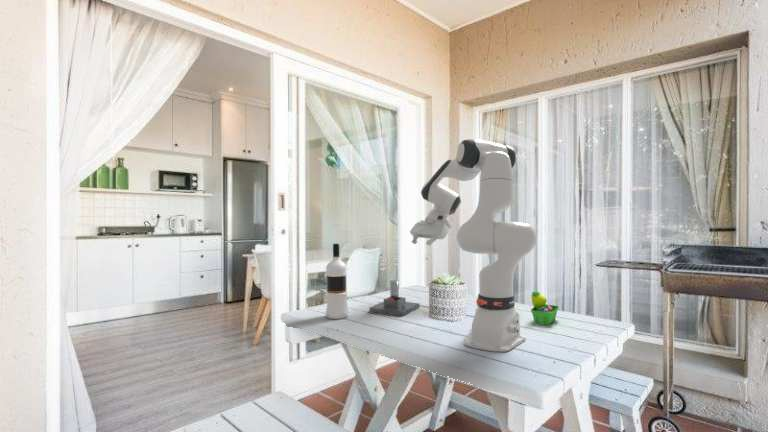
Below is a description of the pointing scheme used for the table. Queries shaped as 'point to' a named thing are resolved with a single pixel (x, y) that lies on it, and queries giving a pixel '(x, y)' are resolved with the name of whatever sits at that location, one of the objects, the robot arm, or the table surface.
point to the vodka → (336, 287)
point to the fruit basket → (542, 309)
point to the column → (394, 289)
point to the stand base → (394, 307)
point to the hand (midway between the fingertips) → (420, 243)
